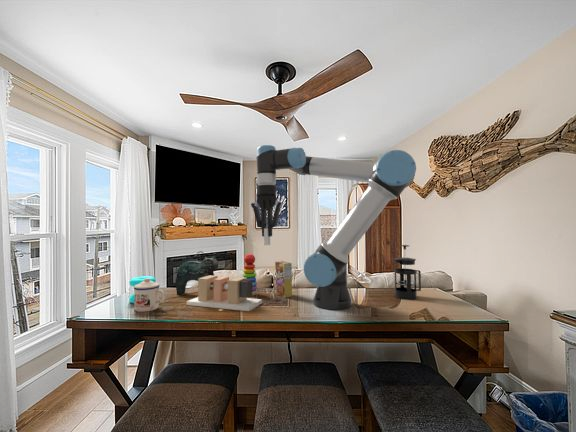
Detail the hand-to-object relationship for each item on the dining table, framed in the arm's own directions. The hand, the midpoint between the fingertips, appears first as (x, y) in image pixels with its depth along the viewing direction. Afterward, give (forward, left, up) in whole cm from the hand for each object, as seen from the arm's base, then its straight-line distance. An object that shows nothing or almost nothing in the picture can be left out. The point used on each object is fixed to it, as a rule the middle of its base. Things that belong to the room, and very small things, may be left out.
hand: (267, 244), depth 116 cm
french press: (-52, -34, -25) cm, 67 cm away
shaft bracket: (+19, +1, -24) cm, 31 cm away
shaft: (+18, +1, -20) cm, 27 cm away
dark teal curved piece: (+41, -10, -25) cm, 49 cm away
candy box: (+1, -20, -25) cm, 32 cm away
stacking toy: (+17, -17, -25) cm, 34 cm away
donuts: (+55, +8, -25) cm, 60 cm away
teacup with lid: (+43, +16, -25) cm, 52 cm away
